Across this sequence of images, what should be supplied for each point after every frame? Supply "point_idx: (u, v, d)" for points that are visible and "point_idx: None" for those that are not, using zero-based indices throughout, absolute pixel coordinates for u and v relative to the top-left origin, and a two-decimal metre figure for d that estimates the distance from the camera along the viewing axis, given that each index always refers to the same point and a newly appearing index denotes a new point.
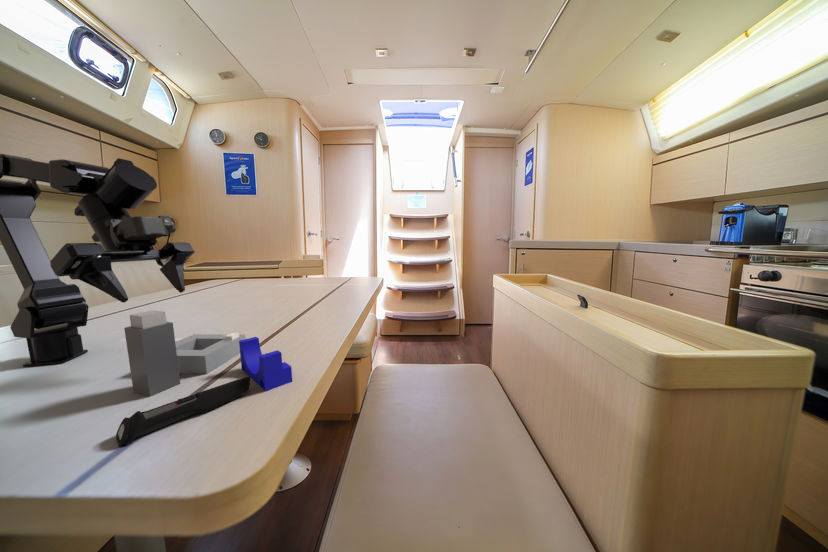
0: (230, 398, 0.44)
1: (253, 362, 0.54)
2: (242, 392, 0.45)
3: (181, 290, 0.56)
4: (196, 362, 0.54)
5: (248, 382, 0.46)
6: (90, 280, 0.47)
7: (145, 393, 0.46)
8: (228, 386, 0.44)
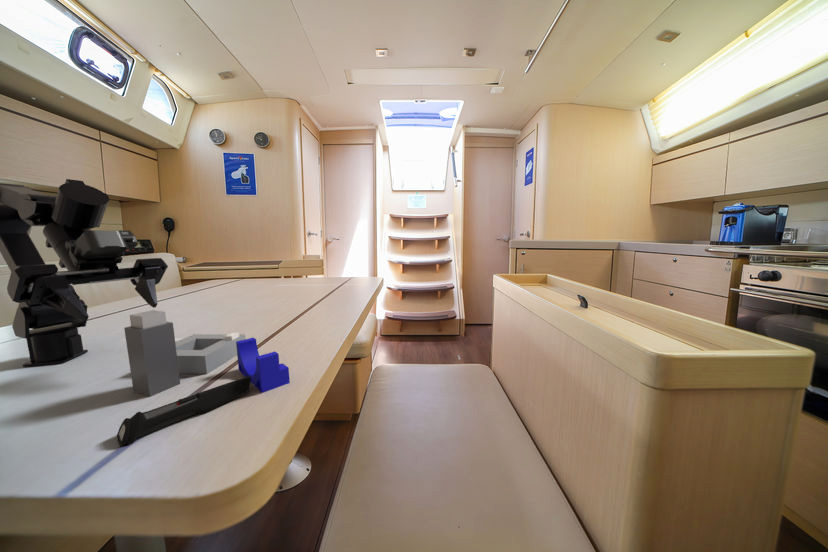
0: (230, 398, 0.44)
1: (250, 363, 0.53)
2: (242, 392, 0.45)
3: (153, 305, 0.54)
4: (196, 362, 0.54)
5: (248, 382, 0.47)
6: (50, 303, 0.45)
7: (145, 393, 0.46)
8: (228, 386, 0.45)
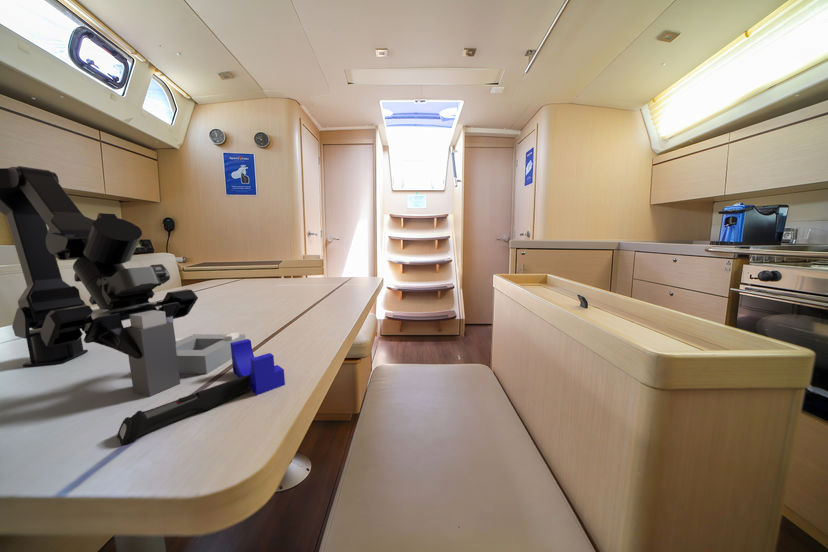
0: (230, 397, 0.44)
1: (245, 365, 0.52)
2: (241, 390, 0.46)
3: None
4: (196, 362, 0.54)
5: (247, 381, 0.47)
6: (104, 341, 0.45)
7: (145, 393, 0.46)
8: (228, 385, 0.45)
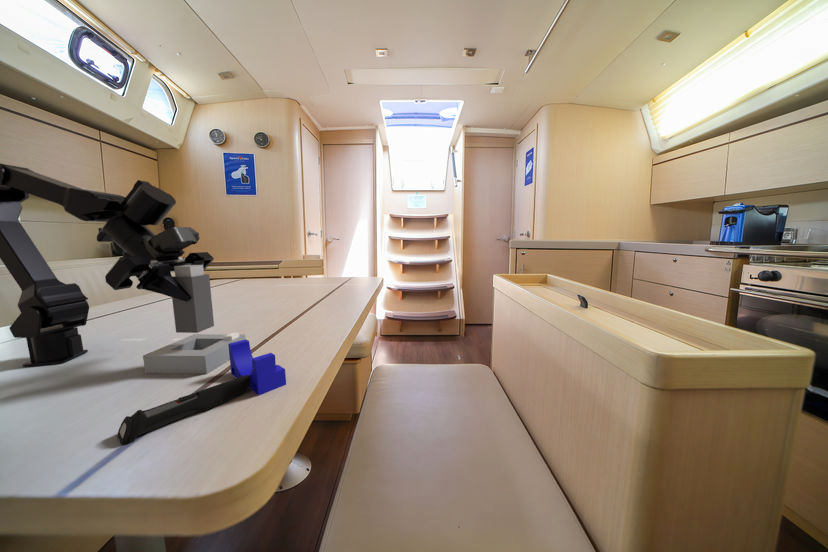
0: (230, 396, 0.44)
1: (244, 365, 0.52)
2: (241, 390, 0.46)
3: None
4: (196, 362, 0.54)
5: (247, 380, 0.47)
6: (154, 288, 0.54)
7: (191, 331, 0.56)
8: (228, 384, 0.45)
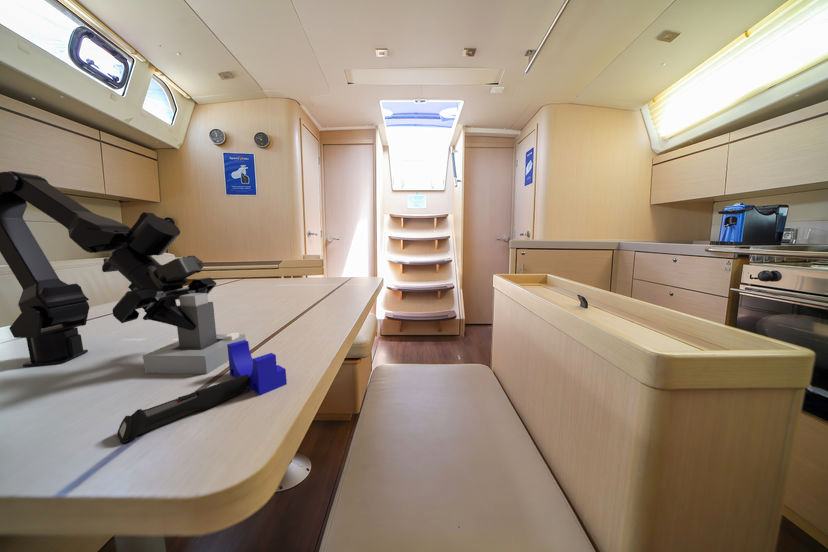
0: (229, 396, 0.45)
1: (243, 366, 0.52)
2: (241, 389, 0.46)
3: None
4: (196, 362, 0.54)
5: (247, 380, 0.47)
6: (159, 318, 0.55)
7: None
8: (227, 384, 0.45)
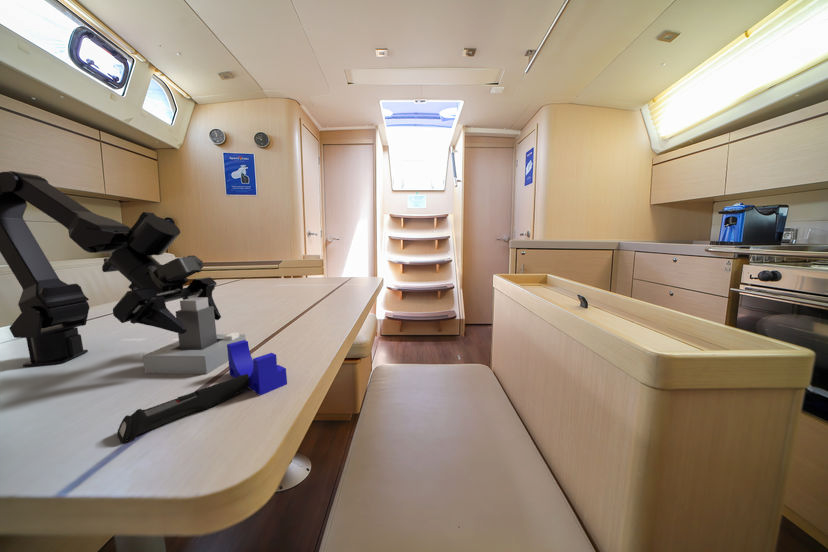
0: (229, 395, 0.45)
1: (243, 366, 0.52)
2: (240, 389, 0.46)
3: (218, 318, 0.63)
4: (196, 362, 0.54)
5: (246, 379, 0.47)
6: (148, 321, 0.52)
7: None
8: (227, 383, 0.45)
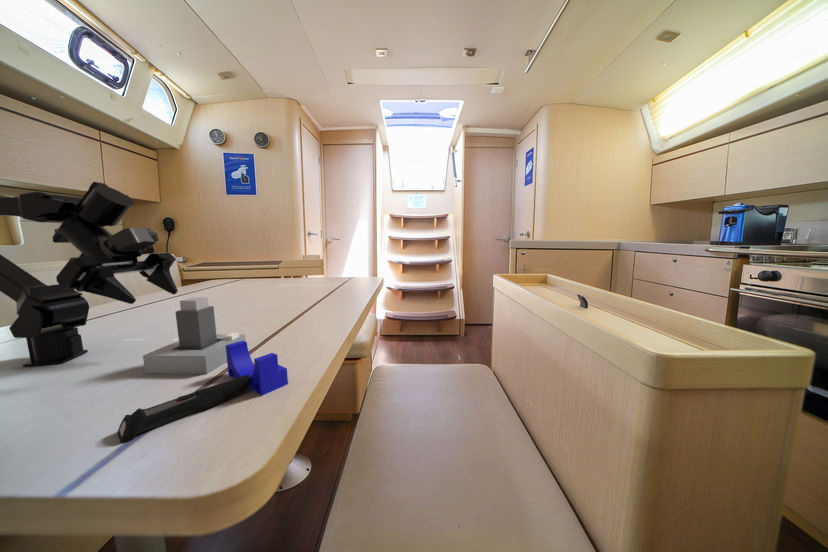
0: (229, 396, 0.45)
1: (242, 367, 0.52)
2: (241, 390, 0.46)
3: (174, 292, 0.63)
4: (196, 362, 0.54)
5: (247, 380, 0.47)
6: (95, 290, 0.52)
7: None
8: (227, 384, 0.45)
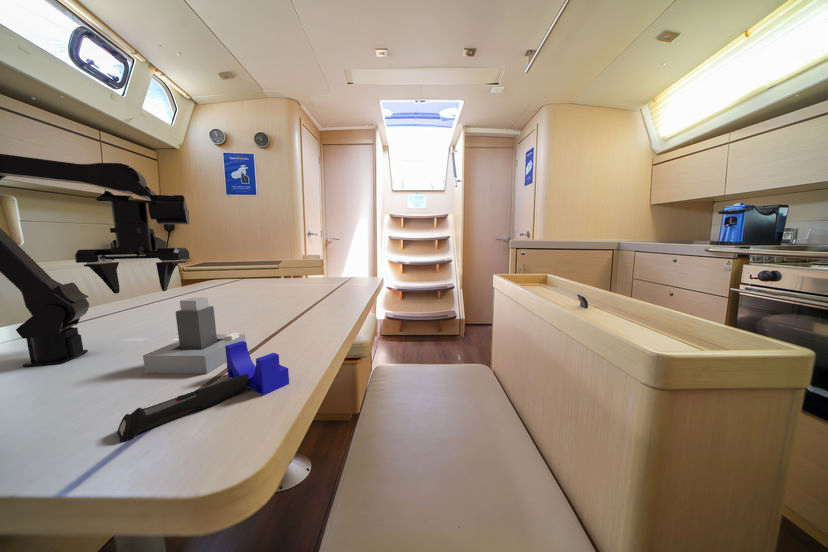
0: (229, 395, 0.45)
1: (243, 367, 0.51)
2: (240, 389, 0.46)
3: (118, 292, 0.66)
4: (196, 362, 0.54)
5: (246, 379, 0.47)
6: (166, 268, 0.66)
7: None
8: (227, 383, 0.45)
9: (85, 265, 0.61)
